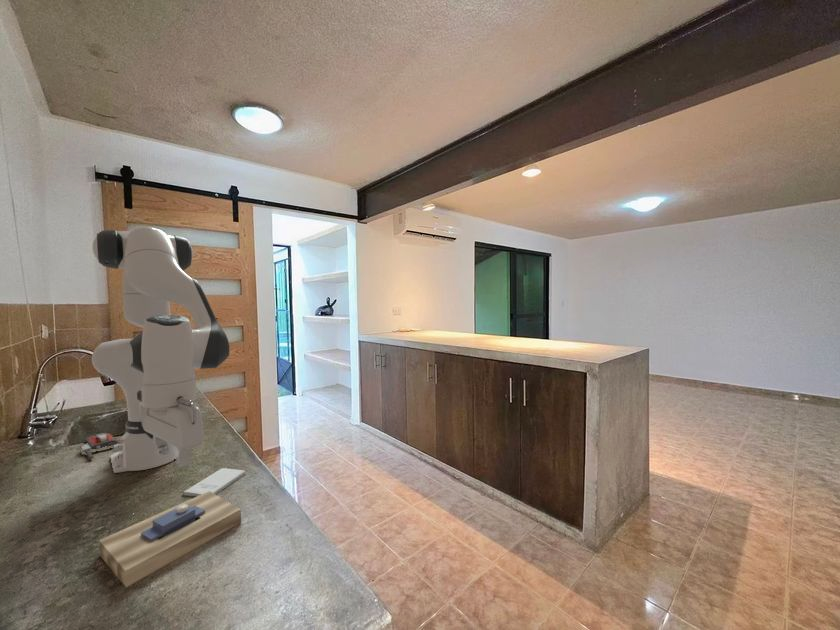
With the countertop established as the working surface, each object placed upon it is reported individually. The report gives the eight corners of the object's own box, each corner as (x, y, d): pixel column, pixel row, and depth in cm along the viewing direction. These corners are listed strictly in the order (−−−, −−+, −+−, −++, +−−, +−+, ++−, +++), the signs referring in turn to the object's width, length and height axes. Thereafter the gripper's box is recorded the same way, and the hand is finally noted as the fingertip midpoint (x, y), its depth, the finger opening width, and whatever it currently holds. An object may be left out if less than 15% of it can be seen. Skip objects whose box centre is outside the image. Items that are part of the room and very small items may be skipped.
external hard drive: (245, 476, 95) (209, 501, 83) (221, 473, 97) (182, 497, 85) (245, 470, 95) (209, 494, 83) (221, 467, 97) (182, 490, 85)
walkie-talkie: (76, 447, 115) (87, 463, 103) (75, 435, 115) (86, 449, 103) (109, 439, 122) (124, 453, 110) (109, 427, 122) (123, 440, 110)
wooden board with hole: (99, 555, 64) (99, 540, 64) (209, 502, 81) (209, 490, 81) (126, 587, 57) (125, 570, 57) (241, 522, 74) (240, 509, 74)
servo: (141, 550, 65) (140, 522, 65) (195, 521, 74) (194, 496, 74) (151, 557, 64) (150, 528, 63) (205, 526, 72) (204, 500, 72)
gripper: (212, 397, 65) (214, 466, 66) (167, 384, 76) (169, 443, 77) (175, 406, 60) (177, 480, 60) (132, 390, 71) (135, 454, 71)
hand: (172, 459), depth 69 cm, fingers open, 8 cm apart
